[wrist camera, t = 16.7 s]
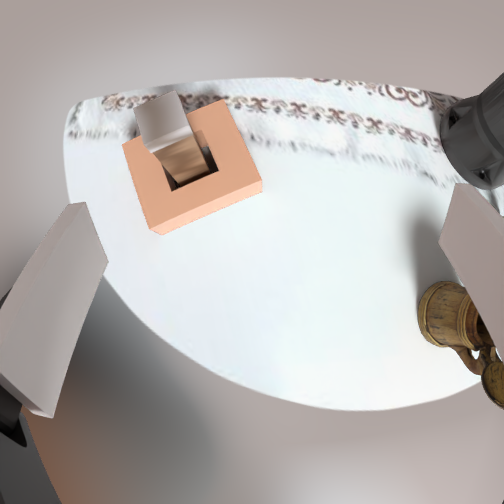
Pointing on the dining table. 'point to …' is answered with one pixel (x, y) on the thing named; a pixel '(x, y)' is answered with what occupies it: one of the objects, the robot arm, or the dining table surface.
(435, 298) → the wooden mug
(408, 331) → the dining table surface
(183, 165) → the silver-capped wooden peg
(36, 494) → the robot arm
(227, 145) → the terracotta holder
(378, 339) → the dining table surface
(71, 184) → the dining table surface
